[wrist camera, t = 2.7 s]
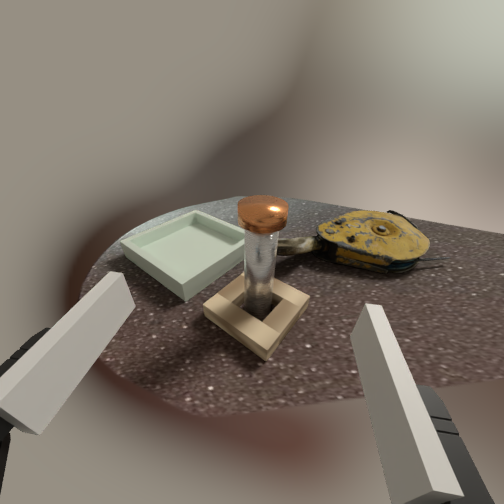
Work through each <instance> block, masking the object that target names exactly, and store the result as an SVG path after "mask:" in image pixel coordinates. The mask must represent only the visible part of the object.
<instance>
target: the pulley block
mask: <svg viewBox="0 0 504 504" xmlns="http://www.w3.org/2000/svg"><path fill="white" fill-rule="evenodd" d="M389 213H392V214H389ZM316 232H317V234H318V235H317V236H312V237H300V238H293V239H287V238H283V239H278V244H277V254H276V255H279V256H291V255H295V254H303V253H307V252H310V251H311V252H312V253H313V254H314V255H315V256H316V257H318V258H320V259H323V260H326V261H330V262H334V263H339V264H343V265H348V266H353V267H357V268H362V269H366V270H370V271H375V272H379V273H384V274H386V273H387V272H392V273H399V272H404V271H408V270H410V269H412V268H413V267H415V266H416V265H417V263H418V261H429V260H440V259H449V258H451V257H445V258H425V259H419V257H420V256H422V255H424V254H425V253H426V252H427V250H428V249H429V245H430V240H429V239H428V238H427V237H425V236H424V235H423V234H422V233H421V232H420V231H419V230H418V227H417V226H416V225H415V224H414V223H412V222H411V221H410V220H409V219H408V218H406V217H405V216H403V215H401V214H399V213H397V212H395V211H391V210H389V211H387V213H384V212H378V211H354V212H349V213H346V214H343V215H340V216H337V217H334V218H331V219H328V220H326V221H323V222H321V223H320V224H319V225H318V226H317V227H316Z"/></svg>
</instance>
